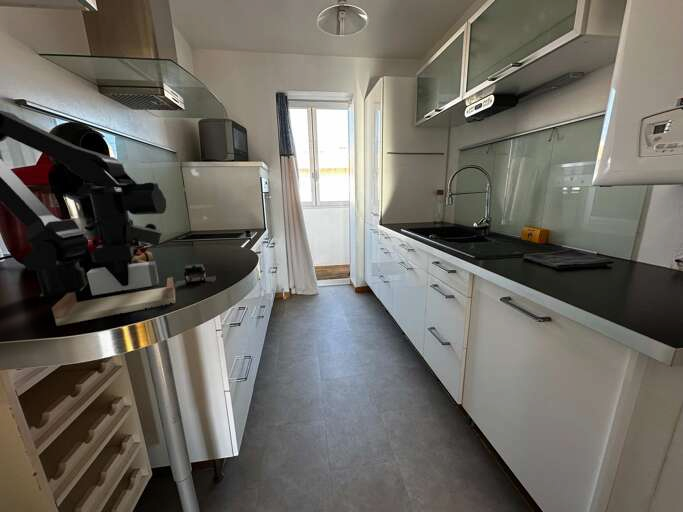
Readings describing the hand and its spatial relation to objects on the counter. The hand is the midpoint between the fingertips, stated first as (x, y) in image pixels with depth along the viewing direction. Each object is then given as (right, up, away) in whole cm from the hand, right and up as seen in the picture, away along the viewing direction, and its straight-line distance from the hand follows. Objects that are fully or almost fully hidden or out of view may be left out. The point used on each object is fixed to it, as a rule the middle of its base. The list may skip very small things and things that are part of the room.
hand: (126, 283), depth 64 cm
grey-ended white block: (0, -1, 0) cm, 1 cm away
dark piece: (+15, -1, +3) cm, 15 cm away
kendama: (-7, +2, +15) cm, 17 cm away
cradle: (+8, -3, -11) cm, 14 cm away
